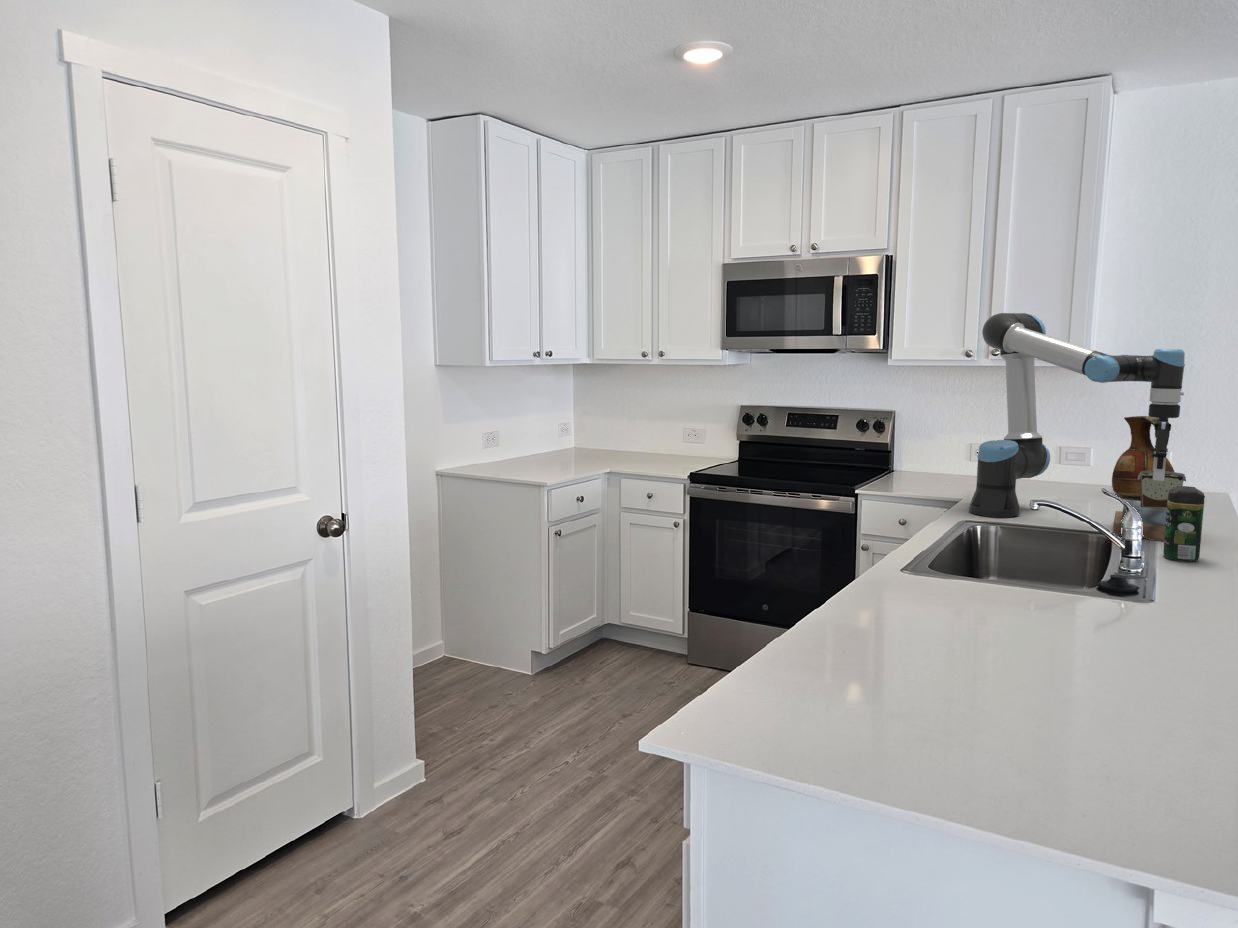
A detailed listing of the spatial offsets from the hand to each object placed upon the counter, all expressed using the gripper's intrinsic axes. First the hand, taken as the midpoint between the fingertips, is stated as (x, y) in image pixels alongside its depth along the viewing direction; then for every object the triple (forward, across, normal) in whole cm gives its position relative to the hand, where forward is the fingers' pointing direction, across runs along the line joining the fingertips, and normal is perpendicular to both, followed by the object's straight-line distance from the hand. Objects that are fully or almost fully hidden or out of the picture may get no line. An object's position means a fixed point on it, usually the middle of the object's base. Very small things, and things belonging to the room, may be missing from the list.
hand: (1158, 477), depth 248 cm
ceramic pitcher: (+17, +67, +3) cm, 69 cm away
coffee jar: (+17, -30, -6) cm, 35 cm away
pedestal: (+17, 0, 0) cm, 17 cm away
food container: (+9, +1, 0) cm, 9 cm away
